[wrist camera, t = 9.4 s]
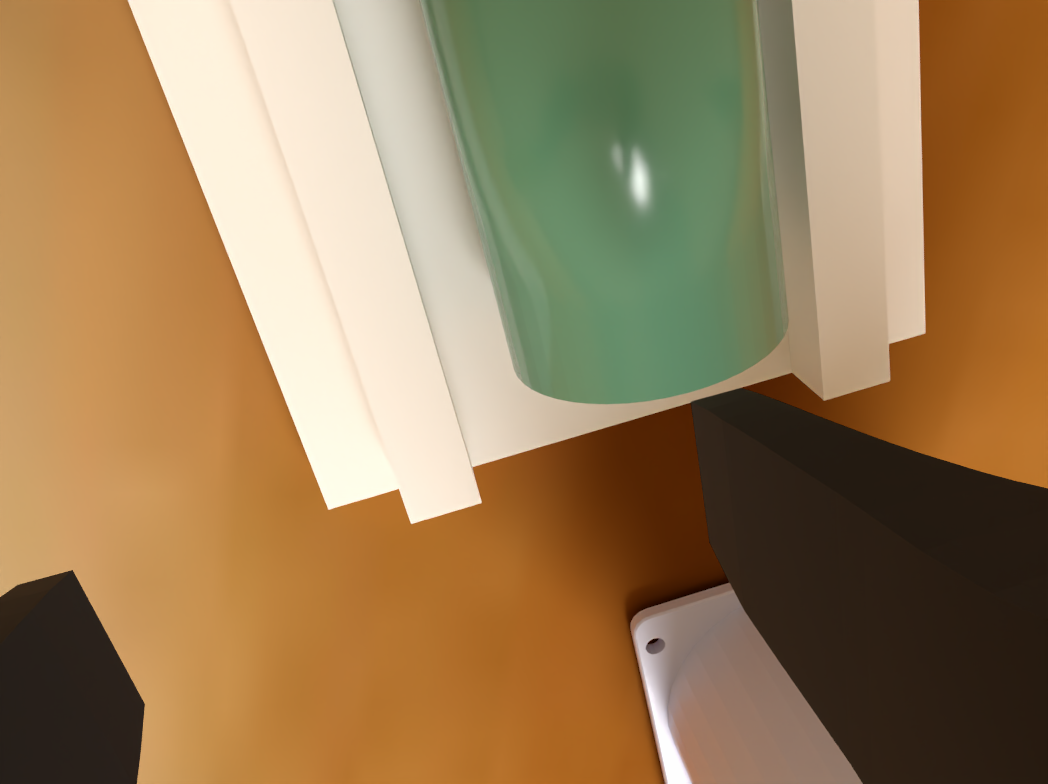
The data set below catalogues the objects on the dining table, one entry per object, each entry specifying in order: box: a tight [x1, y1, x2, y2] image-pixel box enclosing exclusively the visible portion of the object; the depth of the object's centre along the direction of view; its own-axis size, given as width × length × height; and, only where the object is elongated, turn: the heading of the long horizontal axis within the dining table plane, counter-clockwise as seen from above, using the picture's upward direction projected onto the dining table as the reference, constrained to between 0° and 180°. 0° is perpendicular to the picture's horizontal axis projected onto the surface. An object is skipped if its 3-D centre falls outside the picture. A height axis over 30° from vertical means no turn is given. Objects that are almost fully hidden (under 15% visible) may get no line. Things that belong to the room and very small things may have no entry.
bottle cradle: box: [128, 0, 925, 524], centre depth 16 cm, size 16×14×2 cm
